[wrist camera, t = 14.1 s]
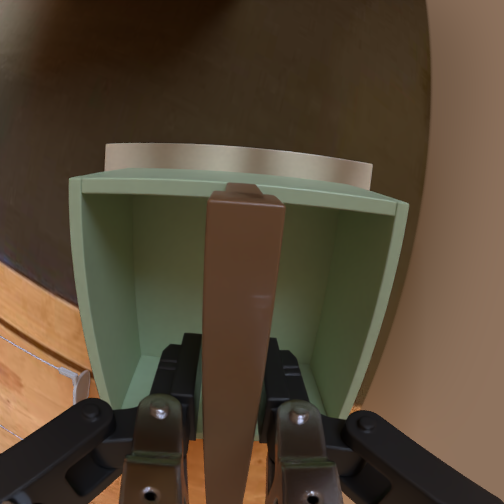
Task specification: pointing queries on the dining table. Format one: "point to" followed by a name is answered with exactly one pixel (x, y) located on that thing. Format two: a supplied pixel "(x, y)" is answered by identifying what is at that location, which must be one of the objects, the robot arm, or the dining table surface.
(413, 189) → the dining table surface
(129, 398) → the top basket
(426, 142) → the dining table surface
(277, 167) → the placemat
